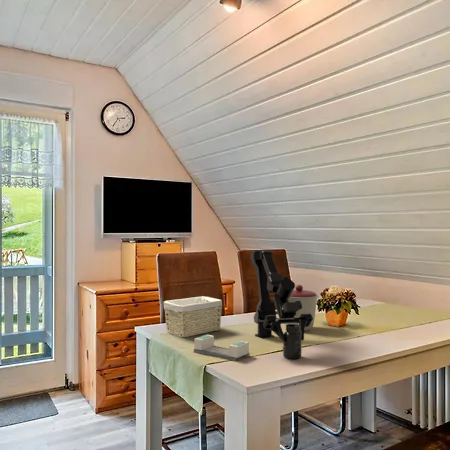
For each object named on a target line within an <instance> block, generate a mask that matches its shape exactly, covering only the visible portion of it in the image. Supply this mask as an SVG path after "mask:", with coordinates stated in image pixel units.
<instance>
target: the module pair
mask: <svg viewBox="0 0 450 450" xmlns="http://www.w3.org/2000/svg"><path fill="white" fill-rule="evenodd" d="M214 343H215V336H214V335H210V334H204V335H201V336H199V337H195V338H194V344H193V345H194V349H197V350H204V349H207V348H209V347H212V346H215V344H214ZM228 346H229V347H228V349H229V356H230V357H235V358H238V357H240V356H243V355H245V354H247V353H250V352H249V351H250V343H249V341H243V340H239V341H236V342H235V343H232V344H229V345H228ZM194 349H193V350H194Z"/></svg>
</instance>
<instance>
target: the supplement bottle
mask: <svg viewBox="0 0 450 450" xmlns="http://www.w3.org/2000/svg"><path fill="white" fill-rule="evenodd" d="M298 331H299V326H298V325H295V324H288V325H286V326H285V332H283V334H284V337H285V342H283V341H282V344H283V345H282V355H283V358H284V359H287V360H290V361H297V360H300V359H301V358H302V353H303V352H302V345H303V344H302V342H303V341H302V335H301V334H300V333H299V332H298Z"/></svg>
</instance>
